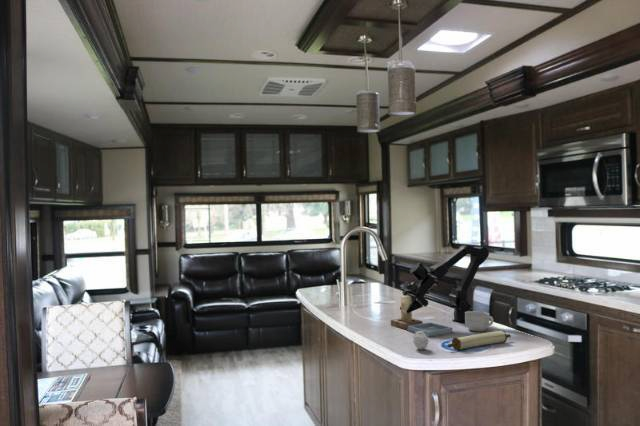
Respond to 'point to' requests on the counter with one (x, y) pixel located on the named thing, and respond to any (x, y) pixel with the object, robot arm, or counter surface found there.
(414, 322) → the socket block
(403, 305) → the dowel
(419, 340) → the grey round lump
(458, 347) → the rolling pin
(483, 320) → the teacup
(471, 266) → the robot arm
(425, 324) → the tray
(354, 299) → the counter surface
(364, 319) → the counter surface
